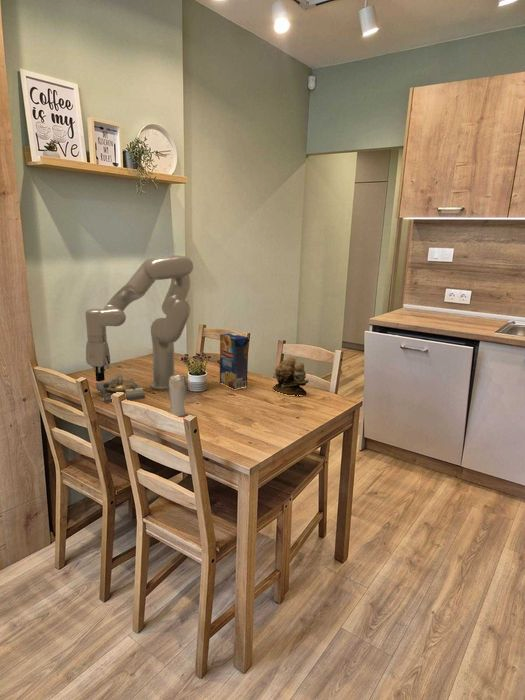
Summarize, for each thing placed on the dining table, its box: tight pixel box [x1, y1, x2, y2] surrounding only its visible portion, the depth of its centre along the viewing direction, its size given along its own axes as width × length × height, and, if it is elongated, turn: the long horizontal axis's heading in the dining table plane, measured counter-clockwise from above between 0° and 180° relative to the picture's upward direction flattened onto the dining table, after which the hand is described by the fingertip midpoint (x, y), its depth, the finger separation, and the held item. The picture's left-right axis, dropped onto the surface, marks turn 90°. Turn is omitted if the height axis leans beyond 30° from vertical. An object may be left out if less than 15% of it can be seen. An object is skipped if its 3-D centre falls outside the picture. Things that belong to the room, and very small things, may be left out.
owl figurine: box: [272, 356, 310, 397], centre depth 202 cm, size 18×12×17 cm, turn 53°
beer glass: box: [167, 374, 188, 418], centre depth 171 cm, size 7×7×15 cm
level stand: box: [95, 378, 146, 403], centre depth 195 cm, size 16×24×4 cm, turn 28°
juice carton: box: [219, 332, 249, 389], centre depth 206 cm, size 12×8×24 cm, turn 39°
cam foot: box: [103, 374, 134, 393], centre depth 192 cm, size 18×12×6 cm
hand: (100, 380), depth 189 cm, fingers closed
